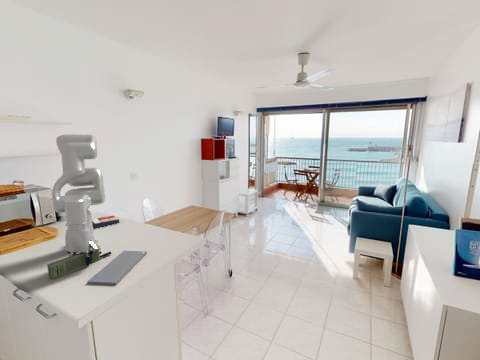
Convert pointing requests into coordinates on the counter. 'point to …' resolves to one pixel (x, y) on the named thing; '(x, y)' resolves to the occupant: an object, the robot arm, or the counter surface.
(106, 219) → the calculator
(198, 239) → the counter surface
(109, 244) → the counter surface
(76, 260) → the handheld radio
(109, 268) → the charging dock
